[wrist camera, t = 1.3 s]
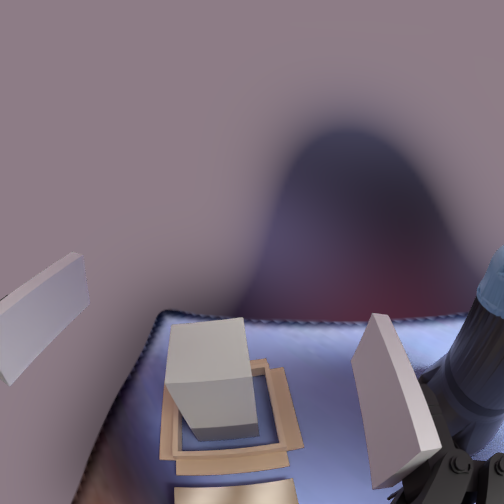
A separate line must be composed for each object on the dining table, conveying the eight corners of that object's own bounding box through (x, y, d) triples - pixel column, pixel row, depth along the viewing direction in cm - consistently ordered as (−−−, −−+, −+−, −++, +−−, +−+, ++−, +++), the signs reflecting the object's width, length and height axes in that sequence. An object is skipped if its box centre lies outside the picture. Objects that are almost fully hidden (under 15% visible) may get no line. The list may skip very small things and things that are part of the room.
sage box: (251, 389, 33) (243, 317, 26) (259, 436, 26) (252, 376, 20) (197, 394, 32) (171, 324, 26) (198, 441, 26) (164, 383, 20)
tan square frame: (280, 357, 37) (280, 349, 36) (307, 462, 23) (309, 458, 22) (166, 369, 36) (162, 361, 35) (160, 474, 22) (154, 470, 21)
